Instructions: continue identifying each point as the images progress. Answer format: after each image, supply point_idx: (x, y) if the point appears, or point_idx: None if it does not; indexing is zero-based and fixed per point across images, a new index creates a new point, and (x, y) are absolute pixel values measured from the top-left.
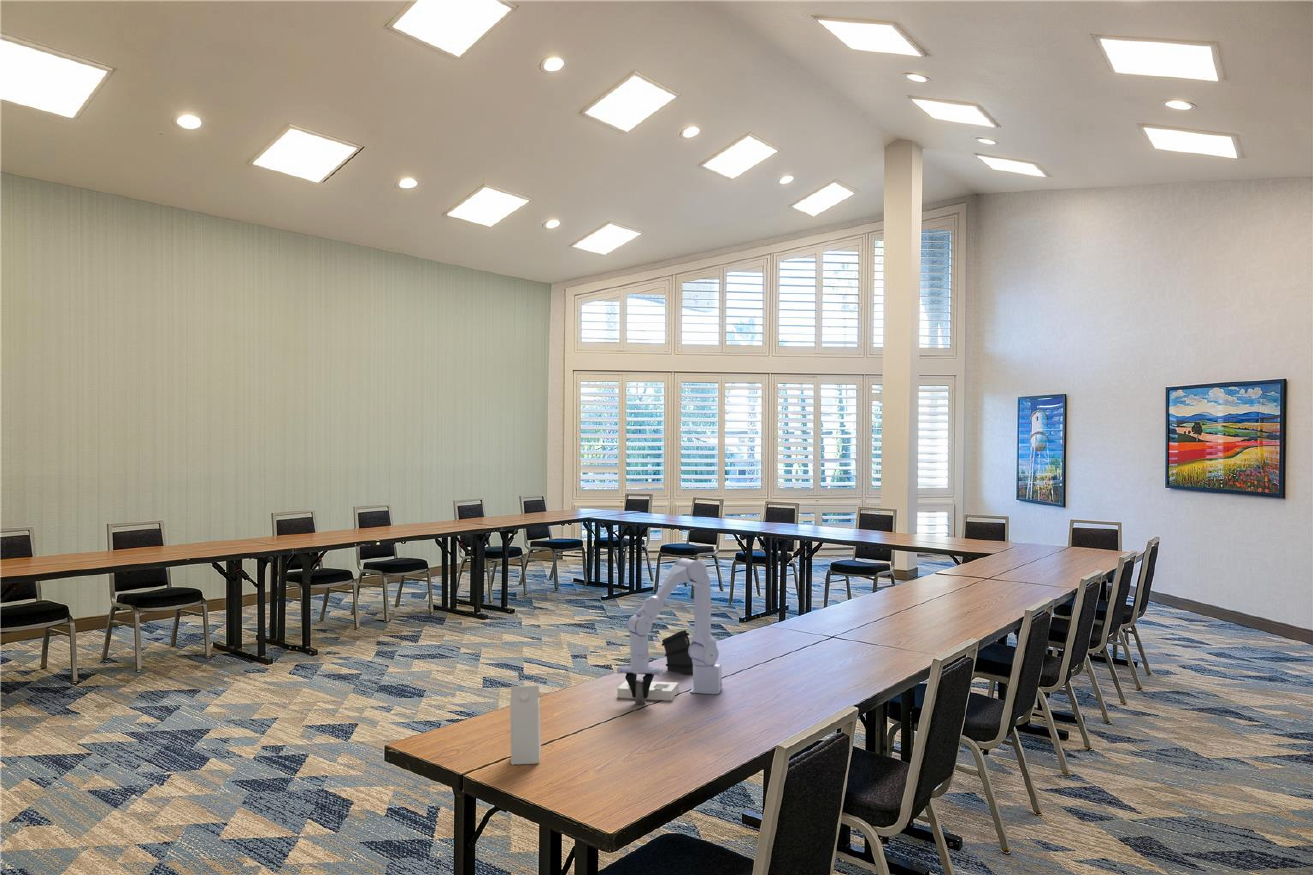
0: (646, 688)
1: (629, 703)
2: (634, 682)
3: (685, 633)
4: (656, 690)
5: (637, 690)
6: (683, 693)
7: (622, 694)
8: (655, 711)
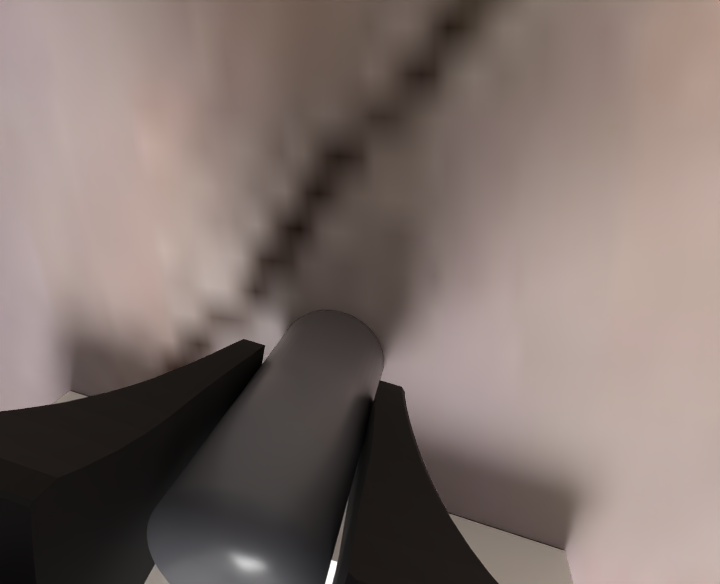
0: (160, 380)
1: (446, 367)
2: (341, 561)
3: None
4: None
5: (315, 407)
6: None
7: (517, 563)
8: (136, 53)
